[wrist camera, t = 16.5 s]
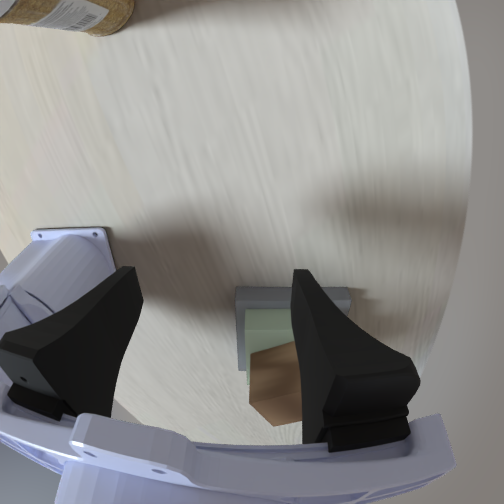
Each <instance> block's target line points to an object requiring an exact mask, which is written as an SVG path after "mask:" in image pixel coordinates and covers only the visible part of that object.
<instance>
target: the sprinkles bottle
mask: <svg viewBox="0 0 504 504" xmlns="http://www.w3.org/2000/svg"><path fill="white" fill-rule="evenodd" d="M133 8H134V0H0V23H13V24H21V25H26V26H36V27H45V28H54V29H61V30H68V31H80V32H86V33H88V34H90V35H92V36H97V37H100V36H106V35H109V34H112V33H113V32H115V31H117V30H119V29H120V28H121V27H122V26H123V25H124V24H125V23H126V22H127V20H128V19H129V18H130V16H131V14H132V13H133Z"/></svg>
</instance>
